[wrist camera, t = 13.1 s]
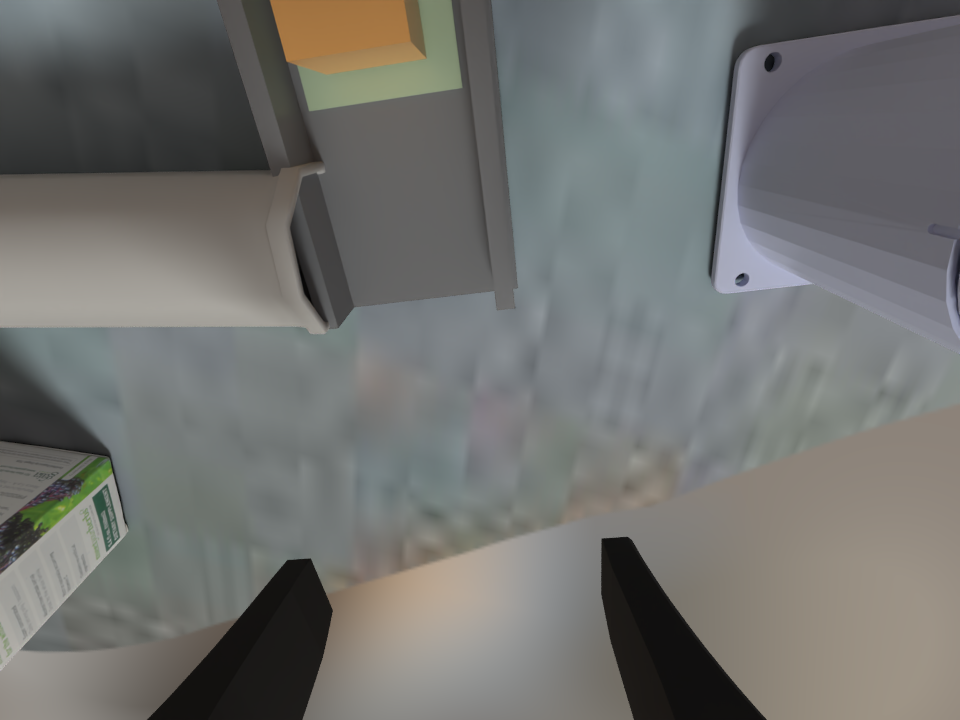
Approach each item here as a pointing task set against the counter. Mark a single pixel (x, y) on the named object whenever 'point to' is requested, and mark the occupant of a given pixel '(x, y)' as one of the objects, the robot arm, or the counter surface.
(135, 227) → the tube
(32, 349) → the counter surface
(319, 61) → the switch knob
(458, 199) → the grey open tray
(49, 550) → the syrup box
